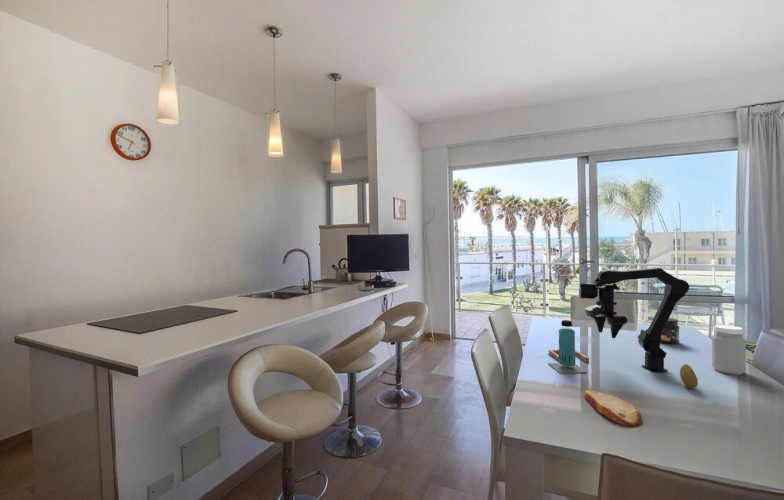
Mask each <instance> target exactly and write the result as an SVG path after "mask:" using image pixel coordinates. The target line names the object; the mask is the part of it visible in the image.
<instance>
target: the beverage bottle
mask: <svg viewBox="0 0 784 500" xmlns="http://www.w3.org/2000/svg"><path fill="white" fill-rule="evenodd" d="M560 325H561V328H560V329H558V350H559V361H558V363H560V364H561V365H564V366H575V364H576V356H575V350H576V331H575V330H574V329H573V328H570V327H573V321H571V320H567V319H566V320H565V319H563V320H561V324H560ZM576 365H577V364H576Z"/></svg>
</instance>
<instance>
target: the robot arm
mask: <svg viewBox="0 0 784 500" xmlns="http://www.w3.org/2000/svg"><path fill="white" fill-rule="evenodd" d="M653 278H655V279H657V280H658V281H660V282H661V283H662V284H664V289H663V298H662V300H661V303H660V304H659V307H658V309H657V311H656V313H655V315H654V316H653V319H652V321H651V322H650V325H649V326H648V328H647V329H645V330H644V329H640V332H639V335H637V338H638V340H637V342H638V344H639V346H640V347H641V348H642V349H643V350H644V351H645V352H644V364H642V365H641V367H642V368H644V369H646V370H648V371H650V372H652V373H653V372H654V373H657V372H661V373H662V372H669V371H668V369H666V368H665V358H666V356H667V354H668V353H667V352H666V351H665V350H663V349H662V347H660V346H661V344H662V343H661V333H662V331H663V329H664V327H665V325H666V323H667V321H668V319H669V318H671V315H672V313H673V311H674V309H675V307H676V304H677V303H678V302H679V301H680V300H681V299H682V298H684V297H685V295H686V294H687V293H688V292H689V290H690V285H689V283H688V282H687V280H684V279H680V278H678V277H676V276H674V275H672V274H670V273H669V272H667V271H665V270H664V269H663V268H662V267H652V268H642V269H631V270H630V269H629V270H612V269H602V270H600V271H599V272H598V274H597V278H596V279H594V281H593V282H592V283H585V282H580V283H579V289H578V296H579V299H587V300H595V298H597V297H598V300H596V302H595V304H594V305H590V306H588V307H585V308H584V312H585V314H586V317H590V318H592V319H593V320H594V322H595V325H596V327H597V331H598V333H600V334H602V333H603V330H604V328H605V327H604V326H605V324H608V325H609V326H610V335H611V339H615V338H617V335H618V334H619V333H620V331H621V329H622V328H623V326H625V325H626V324H628V317H626V316H625V315H623V314H618V312H617V311H615V306H617V302H616V301H615V290H620V289H621V288H620V287H619V286H618V284H616V283H620V282H624V281H628V280H629V281H630V280H631V281H632V280H641V279H643V280H644V279H653ZM606 320H607V322H606Z"/></svg>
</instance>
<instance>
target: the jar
mask: <svg viewBox="0 0 784 500" xmlns="http://www.w3.org/2000/svg"><path fill="white" fill-rule="evenodd" d="M713 328H714V331H715V332H714V335H712V337H711V347H712V348H711V364H712V365H711V366H712V368H714V370H715V371H716V372H719V373H723V374H727V375H734V376H740V375H741V376H742V375H743V374H744V373H745V372H747V371H746V369H747V367H746V366H747V365H746V364H747V363H746V360H747V359H746V357H747V354H746V353H747V349H746V348H747V346H746V345H747V342H746V340H745V339H744V335H743V334H744V328H743V327H740V326H736V325H730V324H716V325H714V327H713Z"/></svg>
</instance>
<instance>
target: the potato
mask: <svg viewBox="0 0 784 500" xmlns="http://www.w3.org/2000/svg"><path fill="white" fill-rule="evenodd" d="M679 377H680V379H681V381H682V383H683V384H684V385H685V386H686V387H687V388H688V389H694V388H696V387H697V386H698V384H699V383H698V382H699V381H698V376H697V374H696V373H695V371H694V370H693V368H692V367H691V366H690V365H689V364H683V365H682V366H681V367H680V370H679Z"/></svg>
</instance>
